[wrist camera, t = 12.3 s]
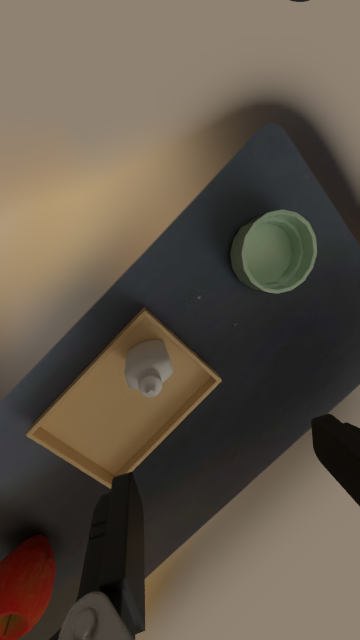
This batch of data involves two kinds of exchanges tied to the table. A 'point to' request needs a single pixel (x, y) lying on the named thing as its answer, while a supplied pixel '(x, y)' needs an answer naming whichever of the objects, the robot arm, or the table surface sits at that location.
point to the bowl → (274, 251)
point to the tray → (122, 405)
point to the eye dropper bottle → (148, 367)
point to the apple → (25, 586)
